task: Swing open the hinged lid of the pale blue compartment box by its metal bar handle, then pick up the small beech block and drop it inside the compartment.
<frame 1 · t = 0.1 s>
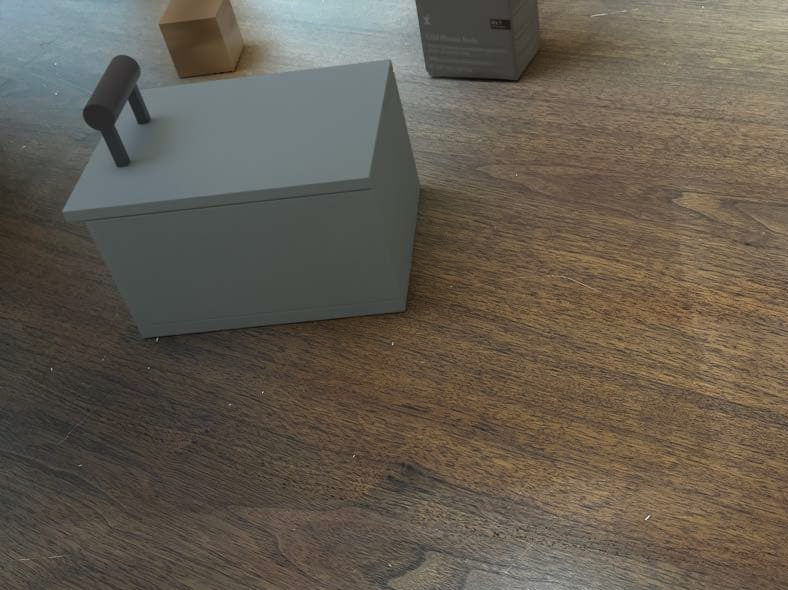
cosmetic box: (489, 62, 90), on the table
block: (212, 61, 96), on the table
compartment: (290, 258, 73), on the table
lid: (227, 104, 65), point 12 cm above the table, hinge at 0.0°
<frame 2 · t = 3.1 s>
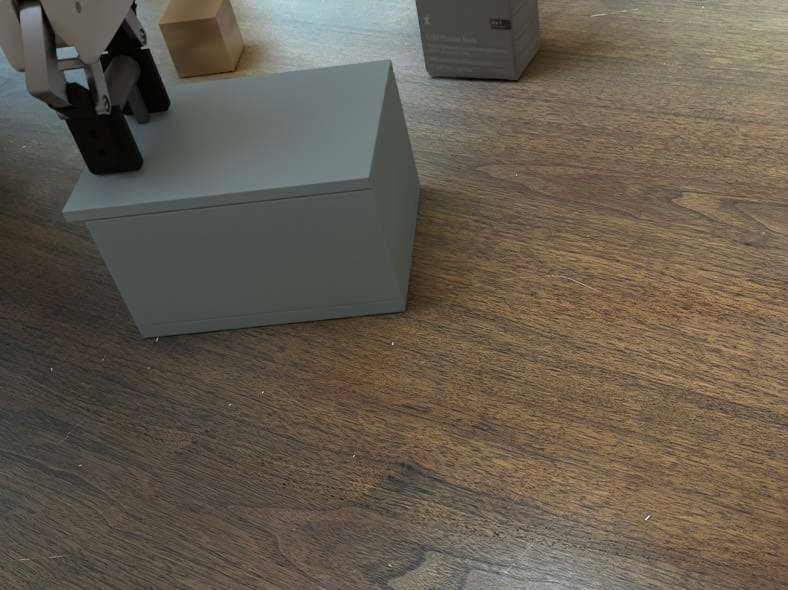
hand: (132, 137, 67), 10 cm above the table, tool pointing down, fingers closed on lid, 6 cm apart
lid: (227, 104, 65), point 12 cm above the table, hinge at 0.0°, touching gripper
everything else where it was.
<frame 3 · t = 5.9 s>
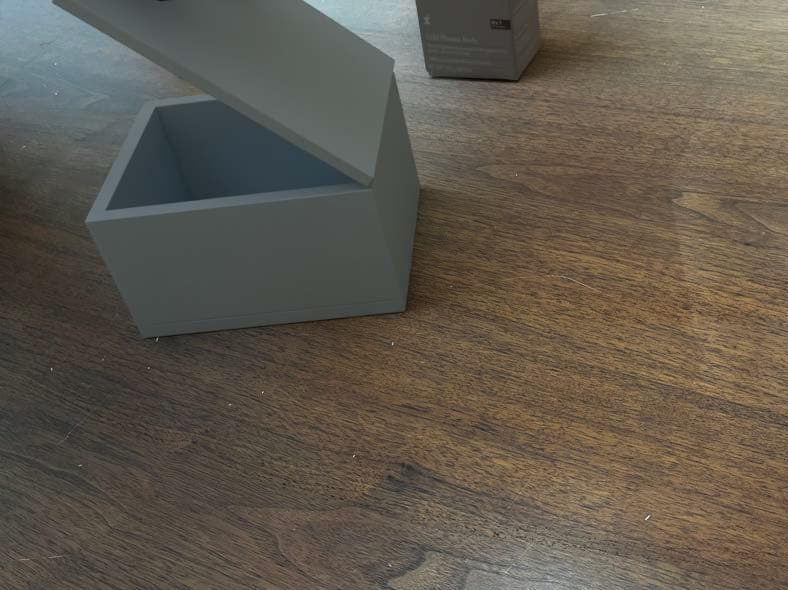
lid: (264, 6, 61), point 17 cm above the table, hinge at 43.9°, touching gripper
everything else where it was.
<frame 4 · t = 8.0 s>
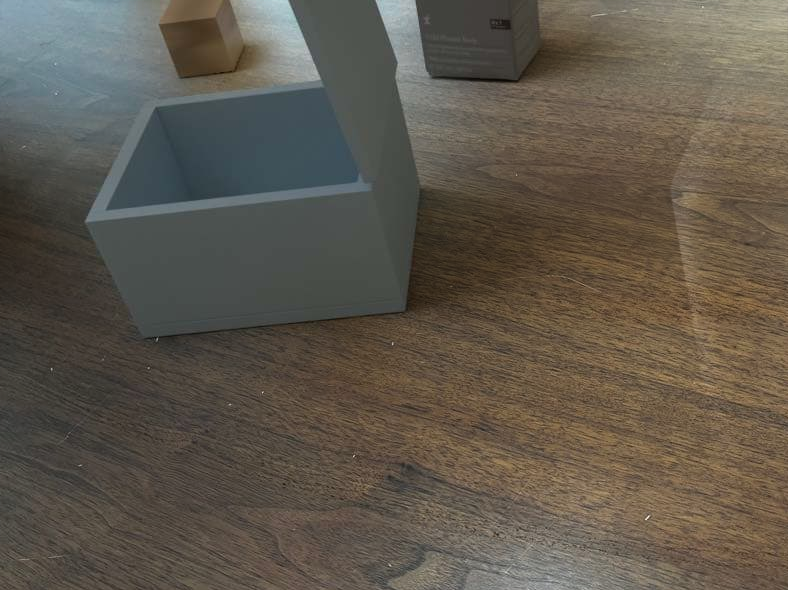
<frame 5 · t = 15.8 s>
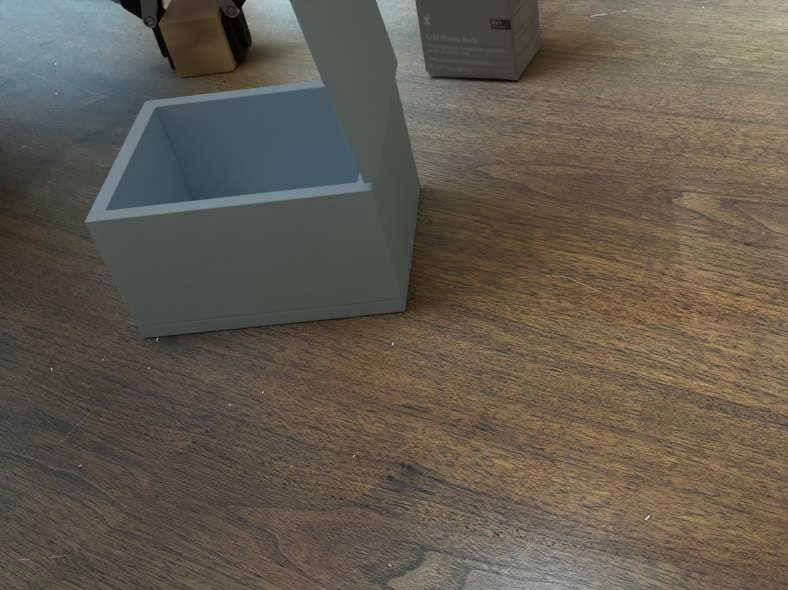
hand: (210, 56, 96), 0 cm above the table, tool pointing down, fingers closed on block, 5 cm apart
block: (212, 61, 96), on the table, touching gripper
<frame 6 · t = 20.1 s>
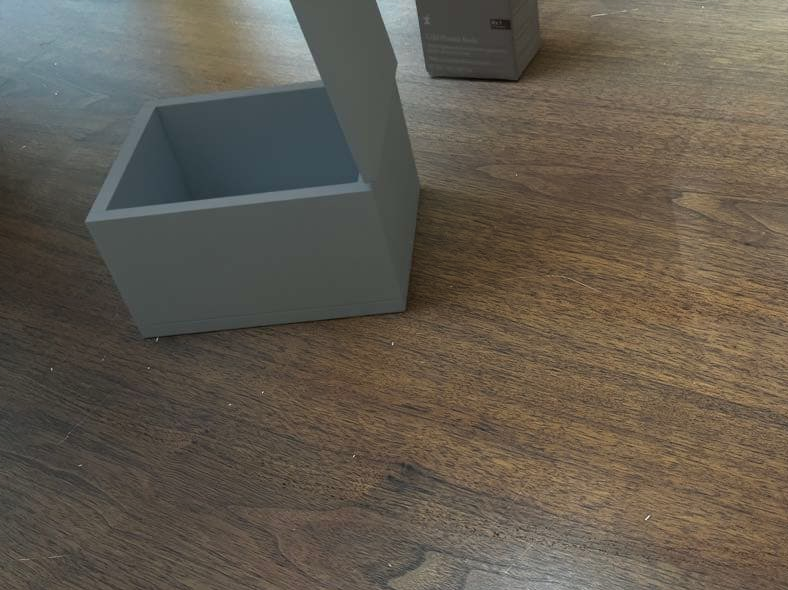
when the fingers open (5 cm above the table, at t = 24.5 s): block drops 4 cm, resting on compartment.
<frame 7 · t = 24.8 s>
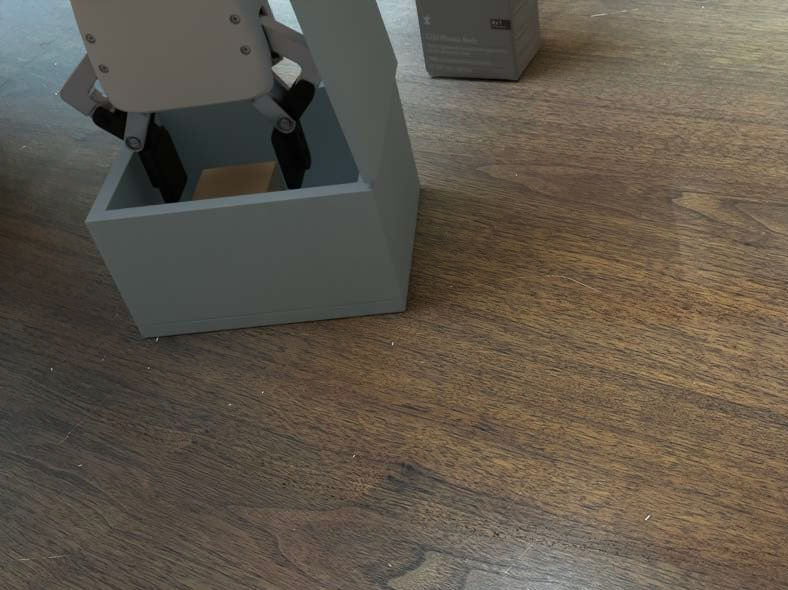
hand: (237, 184, 69), 6 cm above the table, tool pointing down, fingers open, 7 cm apart
block: (256, 249, 73), point 1 cm above the table, touching compartment
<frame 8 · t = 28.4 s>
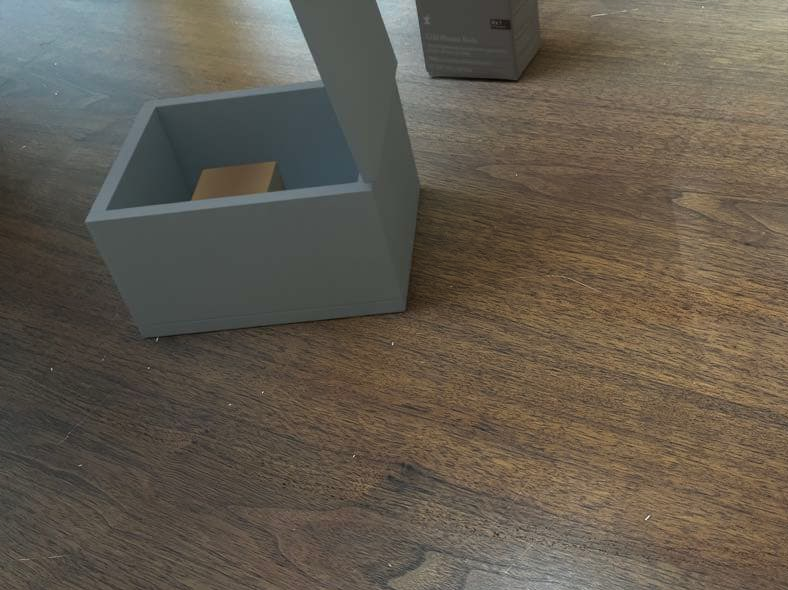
at the end: lid at +84° (first picture: +0°); block inside the target area in the compartment (2.1 cm from its centre), point 1.0 cm above the compartment's base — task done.
